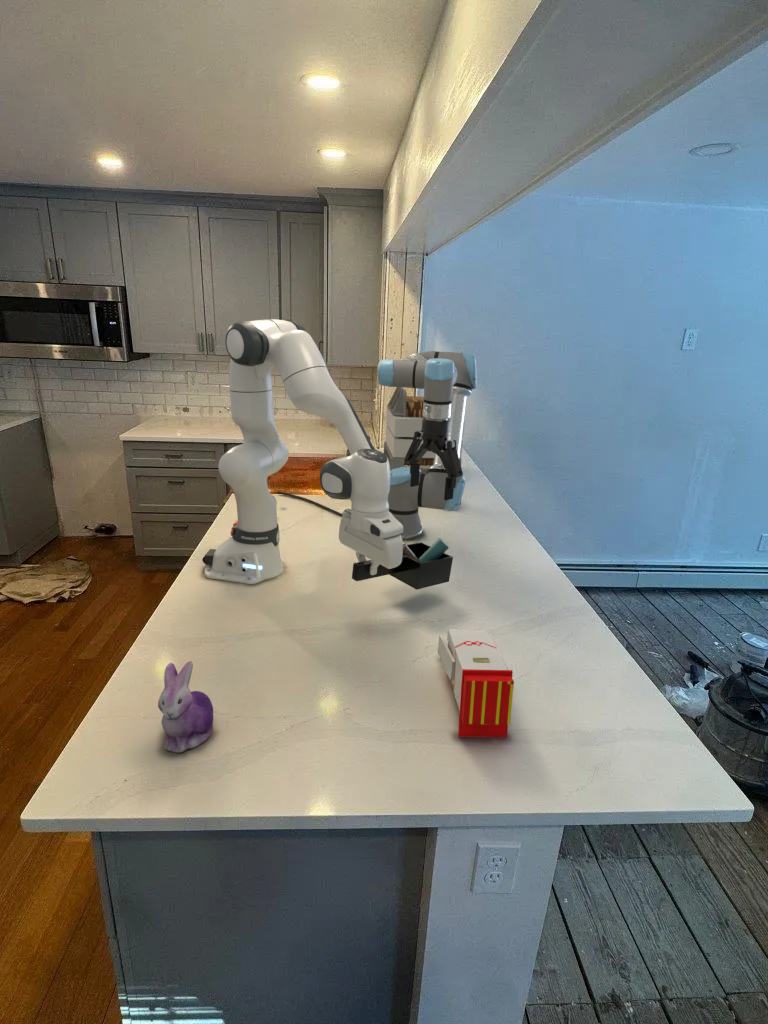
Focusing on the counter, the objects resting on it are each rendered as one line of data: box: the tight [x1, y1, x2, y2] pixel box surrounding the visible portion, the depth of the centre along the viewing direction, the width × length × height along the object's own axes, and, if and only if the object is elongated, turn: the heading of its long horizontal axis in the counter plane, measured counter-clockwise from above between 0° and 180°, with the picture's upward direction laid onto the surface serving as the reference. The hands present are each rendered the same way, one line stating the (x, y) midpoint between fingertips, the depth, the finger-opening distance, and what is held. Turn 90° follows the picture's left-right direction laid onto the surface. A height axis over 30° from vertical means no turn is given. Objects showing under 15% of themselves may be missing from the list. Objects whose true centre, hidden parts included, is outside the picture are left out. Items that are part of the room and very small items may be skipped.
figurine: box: [157, 660, 214, 753], centre depth 100 cm, size 9×10×15 cm
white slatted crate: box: [383, 387, 465, 471], centre depth 268 cm, size 34×33×41 cm
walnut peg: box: [403, 543, 421, 563], centre depth 151 cm, size 4×4×8 cm
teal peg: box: [419, 537, 450, 562], centre depth 151 cm, size 4×4×8 cm
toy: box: [437, 628, 515, 738], centre depth 117 cm, size 12×13×30 cm
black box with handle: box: [351, 541, 454, 590], centre depth 145 cm, size 12×28×7 cm, turn 131°
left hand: (367, 571), depth 139 cm, fingers closed on black box with handle
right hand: (430, 492), depth 161 cm, fingers open, 13 cm apart
